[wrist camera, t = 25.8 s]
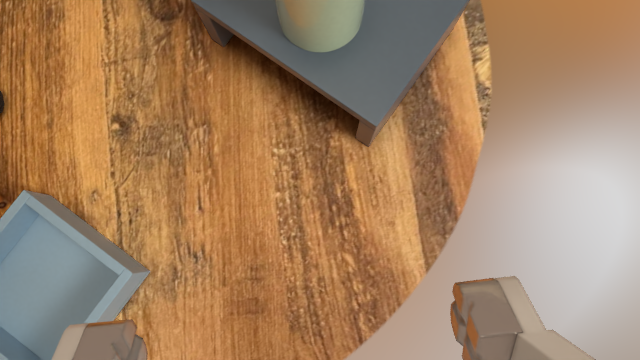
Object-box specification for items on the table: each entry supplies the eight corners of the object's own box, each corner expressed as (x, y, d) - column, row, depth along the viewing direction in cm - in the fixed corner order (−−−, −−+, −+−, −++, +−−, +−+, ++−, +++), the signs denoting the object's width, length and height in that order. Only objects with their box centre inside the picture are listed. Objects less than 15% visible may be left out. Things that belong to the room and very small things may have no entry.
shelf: (453, 28, 44) (477, -13, 37) (368, 147, 43) (376, 127, 36) (298, -72, 46) (293, -129, 39) (211, 38, 44) (190, -1, 37)
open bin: (150, 271, 41) (133, 273, 37) (65, 384, 40) (38, 398, 36) (50, 194, 42) (23, 189, 39) (-36, 302, 41) (-73, 307, 37)
